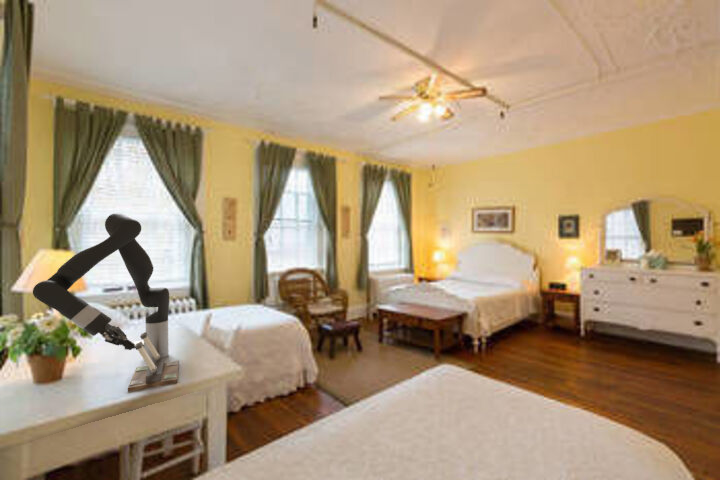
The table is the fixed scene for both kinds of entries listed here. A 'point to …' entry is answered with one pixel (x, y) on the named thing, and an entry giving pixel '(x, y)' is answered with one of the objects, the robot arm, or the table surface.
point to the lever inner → (150, 346)
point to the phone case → (136, 343)
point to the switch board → (154, 375)
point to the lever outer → (146, 357)
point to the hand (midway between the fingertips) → (132, 347)
